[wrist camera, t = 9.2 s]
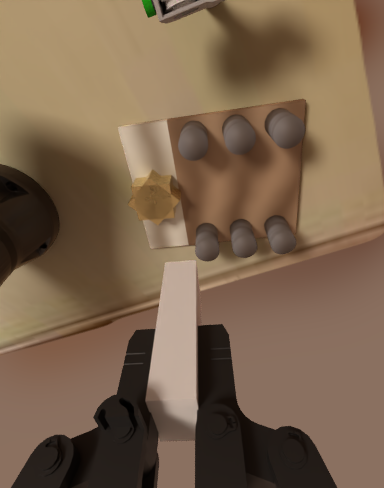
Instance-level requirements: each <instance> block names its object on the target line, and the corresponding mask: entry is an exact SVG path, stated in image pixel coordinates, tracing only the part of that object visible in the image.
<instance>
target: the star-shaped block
mask: <svg viewBox="0 0 384 488" xmlns="http://www.w3.org/2000/svg"><path fill="white" fill-rule="evenodd" d="M131 188H132V192H133V195H132V197H131V199H130V201H129V203H128V205H129V206H130V207H132V208H133V209H134V210H136V211H137V214H138V218H139V220H150V221H152V222H153V223H155V224H156V225H159V224H160V223H161V222H162V220H163V219H167V218H175V212H176V205H177V204H178V202H179V201H180V196H181V191H180V190H179V189H178V188H176V187H175V186H174V185H173V181H172V175H165V176H161V175H159V174H158V173H157V172H155V171H154V170H153V169H152V170H151V172H150V173H149V174H148V175H147V177H141V178H136V179H135V181H134V183H133V184H132V186H131Z"/></svg>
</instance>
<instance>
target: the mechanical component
mask: <svg viewBox="0 0 384 488" xmlns="http://www.w3.org/2000/svg"><path fill="white" fill-rule="evenodd" d="M222 1H225V0H142V2H143V5H144V8H145V11H146V14H147V16H148V18H149V17H152V16H154V15H156V12H157V15H158V18H159V21H160V22H161V23H170V22H173V21H175V20H178V19H181V18H183V17H185V16H188V15H190V14H193V13H195V12H198V11H200V10H203V9H205V8H211V7H214V6H216V5H218V4H219V3H220V2H222ZM155 9H156V10H155Z"/></svg>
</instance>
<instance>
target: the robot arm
mask: <svg viewBox="0 0 384 488" xmlns="http://www.w3.org/2000/svg"><path fill="white" fill-rule="evenodd" d="M58 232H59V217H58V213H57V210H56V208H55V206H54V204H53V202H52V200H51V199H50V197H49V196H48V195H47V193H46V192H45V191H44V190H43V189H42V188H41V187H40V186H39V185H38V184H37V183H36V182H35V181H34V180H32V179H31V178H30V177H28V176H27V175H25V174H23V173H22V172H20V171H18V170H16V169H13V168H11V167H8V166H5V165H1V164H0V286H1V285H2V284H3V282H4V281H5V280H6V279H7V278H8V276H9V275H10V274H11V273H12V272H13V271H14V270H15V269H17V268H19V267H21V266H23V265H24V264H26V263H28V262H30V261H32V260H34V259H36V258H38V257H39V256H41V255H42V254H44V253H45V252H46V251H47V250H48V249H49V247H50V246H51V245H52V243H53V242H54V241H55V239H56V237H57V235H58ZM94 419H95V421H96V423H97V424H98V427H97V428H95V429H93V430H91V431H89V432H86V433H84V434H81V435H79V436H76V437H74V438H72V439H70V438H68V437H67V436H65V435H54V436H52V437H49V438H47V439H46V440H44V441H43V442H42V443H40V444H39V445H38V446H37V447H36V449H35V450H34V451H33V453H32V454H31V455H30V457H29V459H28V461H27V462H26V464H25V466H24V467H23V469H22V470H21V472H20V474H19V475H18V477H17V479H16V480H15V482H14V484H13V485H12V487H11V488H157V480H158V468H159V457H158V453H157V446H158V436H159V438H160V441H187V440H188V441H189V440H195V488H337V486H336V484H335V482H334V481H333V479H332V477H331V475H330V473H329V471H328V469H327V467H326V465H325V463H324V461H323V459H322V458H321V456H320V454H319V452H318V450H317V448H316V446H315V444H314V443H313V442H312V440H311V439H310V438H309V436H308V435H307V434H305V433H304V432H302V431H301V430H300V429H297V428H294V427H291V426H285V427H280V428H278V429H276V430H274V429H271V428H268V427H265V426H262V425H259V424H257V423H254V422H253V421H251V420H250V419H248V418H247V417H246V416H245V415H244V414H243V413H242V411H241V410H240V408H239V406H238V403H237V399H236V392H235V384H234V375H233V367H232V359H231V349H230V341H229V334H228V333H227V331H226V329H225V328H224V326H223V325H222V324H219V325H203V326H202V325H201V298H200V289H199V280H198V272H197V263H196V260H190V261H176V262H165V268H164V275H163V282H162V289H161V296H160V303H159V309H158V317H157V323H156V329H145V330H136V331H135V333H134V334H133V336H132V337H131V339H130V340H129V343H128V347H127V352H126V356H125V361H124V366H123V369H122V374H121V378H120V382H119V387H118V391H117V395H113V396H111V397H110V398H108V399H106V400H105V401H104V402H103V403H102V404H101V405H100V406H99V407H98V409H97V411H96V413H95V415H94Z"/></svg>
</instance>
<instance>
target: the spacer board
mask: <svg viewBox="0 0 384 488" xmlns="http://www.w3.org/2000/svg"><path fill="white" fill-rule="evenodd" d="M305 104H306V100H304V99H300V100H293V101H287V102H280V103H273V104H266V105H259V106H253V107H246V108H239V109H232V110H225V111H218V112H212V113H205V114H198V115H191V116H184V117H178V118H171V119H164V120H157V121H150V122H144V123H137V124H130V125H123V126H119V127H118V130H119V134H120V138H121V141H122V145H123V149H124V152H125V156H126V160H127V164H128V167H129V171H130V175H131V178H132V182H133V183H134V181H135V179H136V178H141V177H147V175H148V174H149V173H150V172H151V170H152V169H153V170H154V171H155V172H157V173H158V174H159V175H161V176H165V175H172V181H173V185H174V186H175V187H176V188H178V189H179V190H180V191H181V196H180V201H179V202H178V204H177V205H176V212H175V218H167V219H163V220H162V222H161V223H160V224H159V225H156V224H155V223H153V222H152V221H150V220H143V223H144V226H145V230H146V234H147V237H148V241H149V245H150V249H154V248H164V247H174V246H184V245H195V244H196V250H195V252H196V256H197V257H198V258H199V259H200V260H203V261H212V260H214V259H216V258H217V257H218V255H219V242H225V241H232V247H233V252H234V253H235V255H237V256H238V257H241V258H247V257H250V256H252V255H253V254H254V253H255V252H256V250H257V243H256V240H255V238H264V237H268V240H269V242H270V245H271V248H272V250H273V251H274V252H275V253H278V254H286V253H289V252H290V251H292V250H293V249H294V248H295V246H296V239H295V237H294V235H293V234H296V222H297V209H298V196H299V183H300V169H301V156H302V143H303V137H304V134H305V125H304V117H305Z"/></svg>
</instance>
